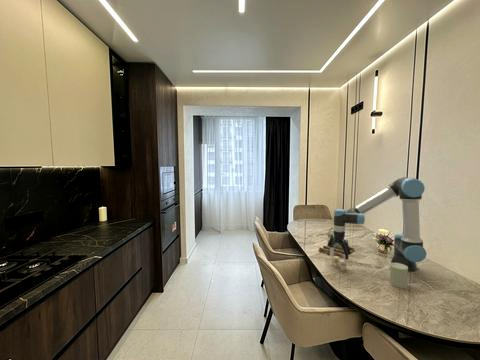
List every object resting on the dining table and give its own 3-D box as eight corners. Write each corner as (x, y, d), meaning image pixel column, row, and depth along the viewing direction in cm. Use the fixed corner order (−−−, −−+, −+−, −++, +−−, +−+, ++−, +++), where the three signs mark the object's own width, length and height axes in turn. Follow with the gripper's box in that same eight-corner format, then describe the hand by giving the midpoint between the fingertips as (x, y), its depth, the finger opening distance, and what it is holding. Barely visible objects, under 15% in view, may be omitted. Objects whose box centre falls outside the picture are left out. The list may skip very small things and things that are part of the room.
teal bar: (347, 249, 193) (347, 242, 193) (344, 250, 191) (344, 243, 190) (336, 246, 201) (336, 239, 201) (333, 247, 199) (333, 240, 198)
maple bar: (346, 269, 158) (346, 261, 158) (341, 270, 157) (342, 262, 157) (336, 263, 168) (336, 255, 168) (331, 264, 167) (331, 256, 166)
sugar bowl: (348, 244, 208) (348, 228, 208) (332, 244, 208) (332, 228, 207) (338, 237, 228) (338, 222, 227) (323, 237, 228) (324, 223, 227)
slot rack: (354, 250, 192) (354, 247, 191) (341, 258, 177) (341, 254, 176) (332, 244, 207) (332, 241, 207) (318, 251, 192) (318, 248, 192)
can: (390, 278, 144) (390, 260, 143) (408, 283, 138) (408, 264, 137) (388, 284, 137) (389, 265, 136) (407, 289, 131) (407, 269, 130)
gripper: (357, 235, 150) (356, 265, 152) (331, 225, 174) (330, 252, 175) (348, 236, 148) (347, 267, 149) (323, 226, 171) (322, 253, 173)
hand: (338, 259), depth 162 cm, fingers open, 13 cm apart
